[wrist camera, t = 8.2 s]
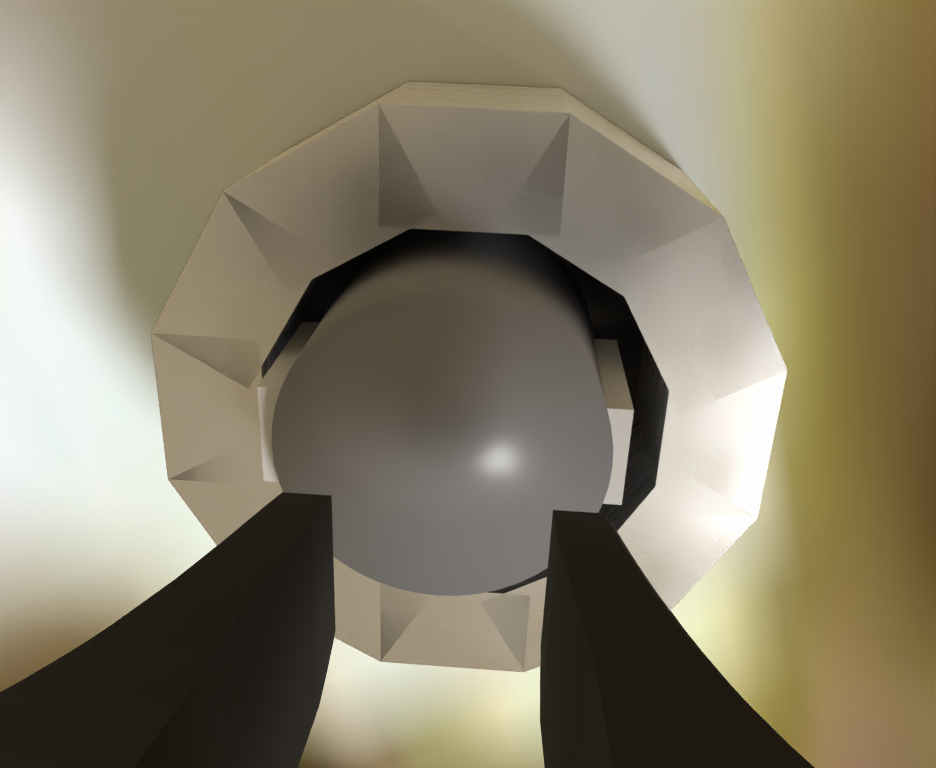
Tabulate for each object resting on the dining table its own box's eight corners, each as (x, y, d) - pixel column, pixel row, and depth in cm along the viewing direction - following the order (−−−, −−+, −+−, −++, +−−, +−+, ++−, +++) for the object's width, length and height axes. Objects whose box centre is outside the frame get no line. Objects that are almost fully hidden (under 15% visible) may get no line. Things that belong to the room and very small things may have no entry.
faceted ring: (771, 98, 15) (837, 125, 12) (690, 571, 19) (722, 686, 16) (205, 71, 16) (122, 91, 12) (242, 541, 20) (187, 647, 16)
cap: (619, 223, 16) (651, 305, 12) (592, 466, 18) (611, 608, 14) (316, 208, 16) (243, 280, 12) (324, 449, 18) (264, 583, 14)
